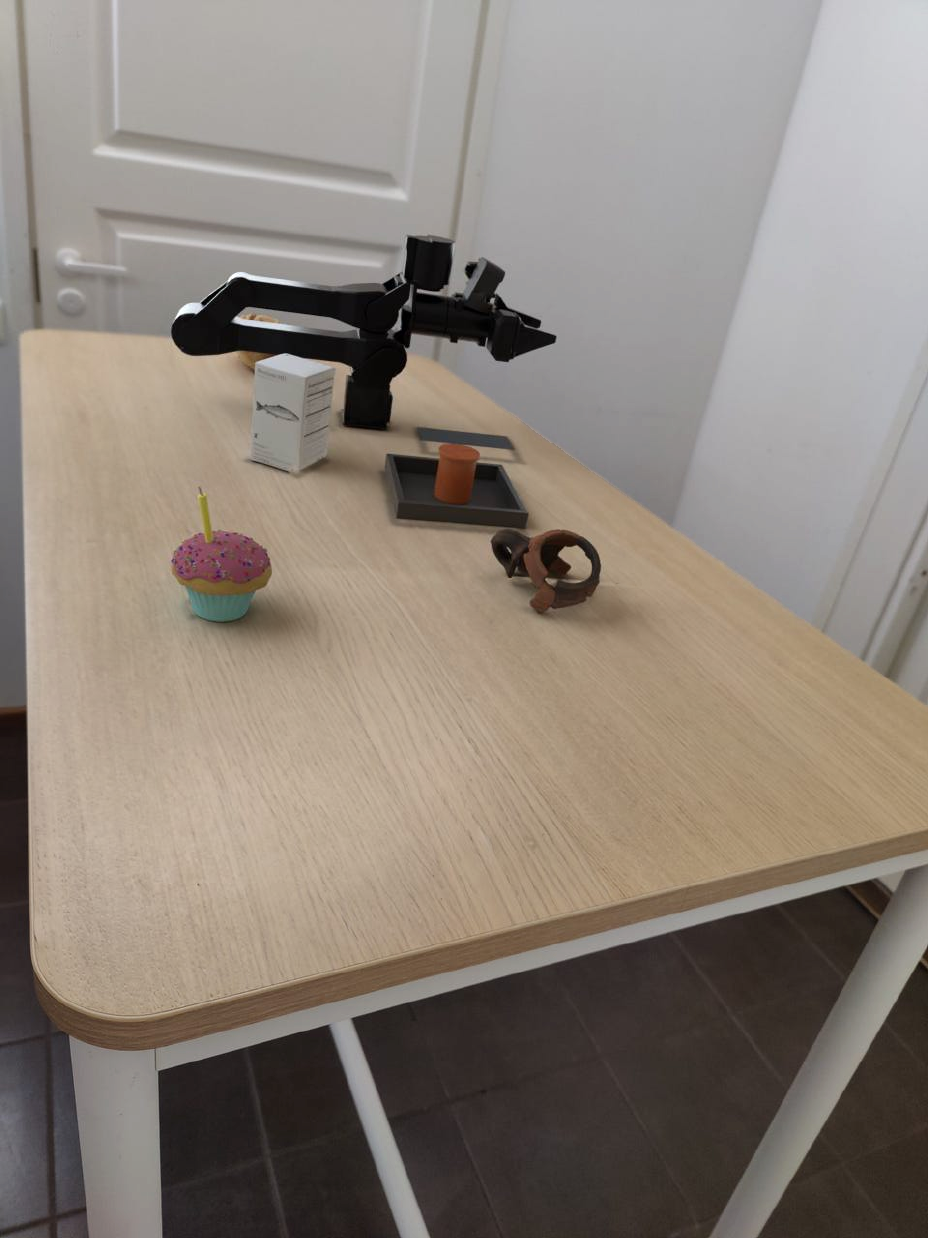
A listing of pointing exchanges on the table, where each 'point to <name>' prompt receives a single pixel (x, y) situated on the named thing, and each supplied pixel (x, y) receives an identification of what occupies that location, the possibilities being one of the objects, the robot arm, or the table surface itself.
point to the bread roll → (253, 357)
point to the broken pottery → (547, 565)
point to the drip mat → (464, 438)
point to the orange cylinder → (455, 473)
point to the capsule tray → (416, 501)
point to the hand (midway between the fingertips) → (548, 331)
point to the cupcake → (220, 570)
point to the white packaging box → (291, 411)
